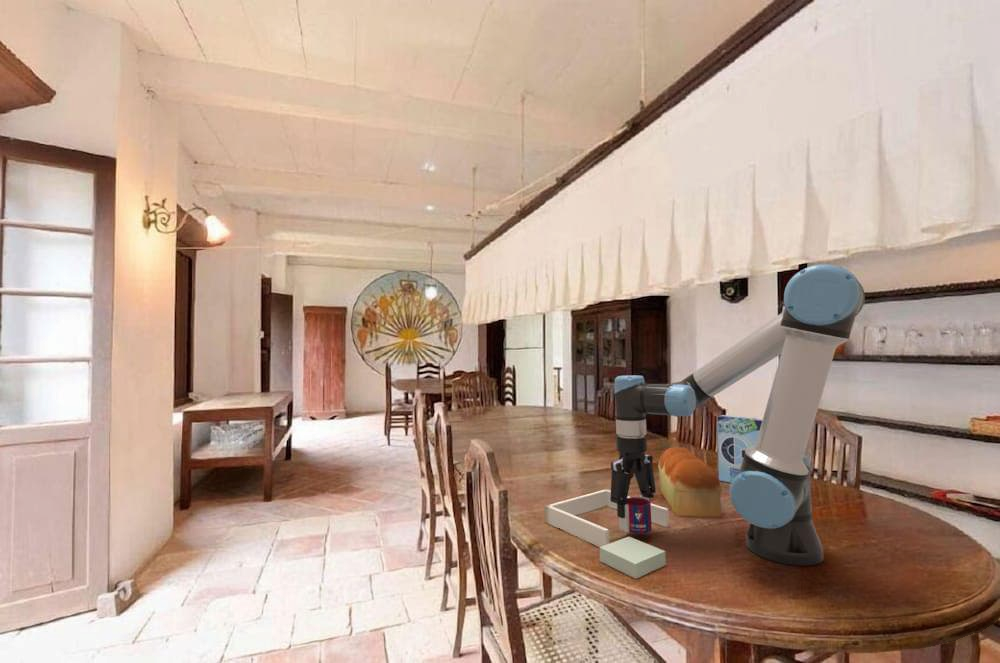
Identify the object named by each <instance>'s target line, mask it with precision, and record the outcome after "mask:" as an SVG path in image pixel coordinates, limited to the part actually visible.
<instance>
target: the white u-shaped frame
mask: <svg viewBox="0 0 1000 663" xmlns="http://www.w3.org/2000/svg"><path fill="white" fill-rule="evenodd" d="M610 497H611V489H601V490H598V491H595V492H592V493H588V494H584V495H580V496H576V497H573V498H570V499H566V500H561V501H558V502H554V503H551V504H548V505H547V504H546V505H545V506H544V508H545V509H544V510H545V511H544V513H545V523H546V524H549V525H550V524H551V526H553V527H555V528H558V529H559V528H560V530H561V529H562V531H563V530H564V531H563V532H566V533H568V534H570V535H572V536H575V537H576V536H577V538H579V539H581V540H583V541H585V542H588V543H589V544H592V545H594V546H597V547H598V548H599V547H602V546H605V545H607V544H610V530H609V529H608V528H606V527H604V526H602V525H599V524H596V523H594V522H592V521H589V520H587V519H584V518H581V517H579V516H577V515H581V514H584V513H588V512H591V511H594V510H597V509H598V510H599V509H601V508H605V507H608V508H611V509H615V510H617V504H616V503H614V502H611V501H610ZM630 497H631V496H629V495H628V496H627V498H630ZM621 499H622V498H621ZM651 523H654V524H657V525H660V526H662V527H665V528H666V527H669V526H670V515H669V508H667V507H663V506H660V505H658V504H654V503H651Z"/></svg>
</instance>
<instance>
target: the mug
mask: <svg viewBox="0 0 1000 663" xmlns="http://www.w3.org/2000/svg"><path fill="white" fill-rule="evenodd" d="M629 497H630V498H627V501H626V504H628V505H629V528H630V531H629V532H628V533H632V534H639V535H642V534H643V535H645V534H648V533H651V532H652V522H651V504H652V502H651V500H650V501H649V500H647V499H643V498H639V497H636V496H635V497H634V496H629Z"/></svg>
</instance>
